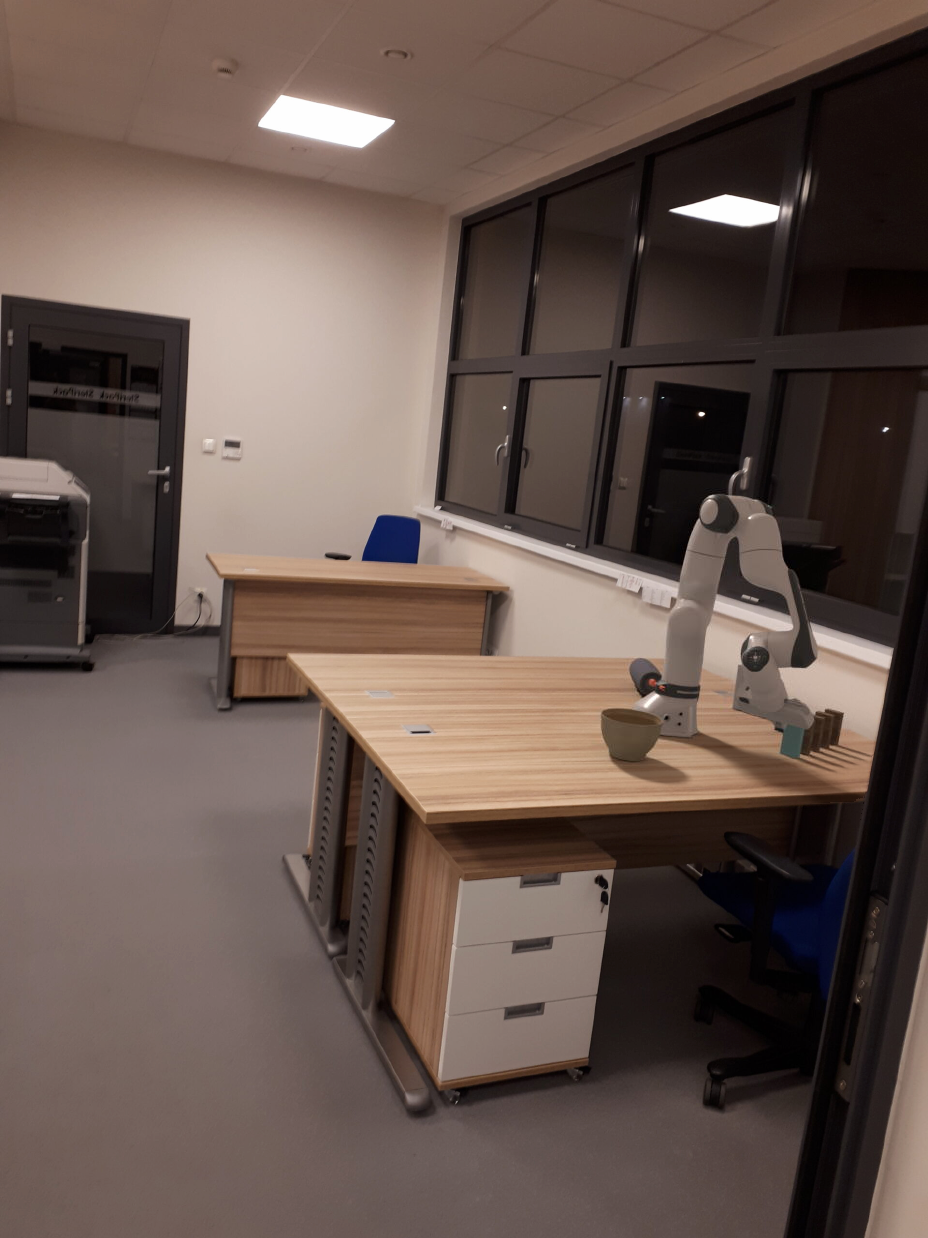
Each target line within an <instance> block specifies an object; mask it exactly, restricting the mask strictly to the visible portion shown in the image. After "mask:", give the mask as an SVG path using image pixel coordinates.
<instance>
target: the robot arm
mask: <svg viewBox="0 0 928 1238" xmlns="http://www.w3.org/2000/svg"><path fill="white" fill-rule="evenodd" d="M781 537H782V536H781V533H780V529H779V526H778V521H777V520H776V518H775V517H774V514H773V510H772V508H771V507H770V506H769V505H768V504H767V503H765V502H764V501H762V500H759V499H753V498H750V497H747V496H742V495H731V494H730V495H727V494H724V493H717V494H712V495H708V496H707V497H705V498H704V500H703V501H702V502H701V504H700V507H699V512H698V519H697V520H696V523H695V524H694V526H693V530H692V531H691V534H690V536H689V540H688V543H687V547H686V551H685V555H684V559H683V564H682V567H681V570H680V576H679V585H678V589H677V590H678V591H677V595H676V601H675V605H674V606H673V607H672V608H671V610H670V611H669V614H668V616H667V617H668V618H667V625H666V627H667V628H666V635H665V636H666V637H665V650H664V651H665V652H664V659H663V660H664V661H663V667H662V673H661V675H662V678H661V679H660V680H659V681H658V682H657V681H655V680H654V679H650V682H649V685H651V686H652V687H655V689H654V690H655V691H653V692H652V693H650V694H649V695H645V696H643V697H642V698H640V699H638V701H636V702H634V704H633V706H632V708H631V709H633V710H639V711H644V712H648V713H651V714H654V715H656V716H658V717H660V718H661V719H662V720H663V725H662V727H661V732H660V735H659V736H668V737H669V736H670V737H680V738H692V737H693V735H695V734H697V733H698V732H699V731H698V722H697V718H698V717H697V714H698V713H697V710H698V709H697V708H698V701H699V699H700V692H701V684H700V682H701V677H702V676H701V675H702V669H703V663H704V652H705V643H706V634H707V629H708V627H709V625H710V623H711V620H712V617H713V613H714V608H715V602H716V600H717V599H716V598H717V593H718V589H719V584H720V579H721V576H722V571H723V568H724V567H723V566H724V563H725V558H726V555H727V550H728V546H729V543H730V542H731V540H732V539H733V538H737V540H738V547H739V550H738V552H739V553H738V555H739V556H738V557H739V567H740V571H741V574H742V577H743V578H744V579H745V581H747V582H749V584H752V585H754V586H756V587H758V588H762V589H766V590H769V591H773V592H775V593H778V594H781V595H782V596H783V597H784V598H785V600H786V603H787V607H788V610H789V611H788V612H789V614H790V619H791V623H792V628H791V629H790V630H781V631H780V630H779V631H763V632H753V633H750V634H749V635H748V636H747V637H746V638H745V640H744V641H743V642H742V644H741V648H740V662H741V663H742V670H743V675H744V678H745V681H744V682H743V684H742V685H741V686H740V688H739V690H738V692H737V694H736V699H737V704H738V706H739V708H740V710H739V711H742V712H743V713H746V714H751V715H754V716H758V717H760V718H764V719H767V720H768V721H769V722H770V723H772V725H773V727H774V728H775V727H777V728H781V729H784V730H785V728H786V727H787V724H788V725H792V726H796V727H799V728H803V729H809V728H810V727H811V725H812V724H813V721H814V717H813V715H814V714H813V713H812V711H811V709H810V708H809V706H808V705H807V704H806V703H804V702H802V701H801V702H799V701H795V700H791V699H788V697H789V695H788V692H787V689H786V686H785V683H784V680H783V679H782V677H781V675H782V674H781V672H780V669H785V668H786V669H787V668H792V669H807V668H809V667H810V666H811V665H813V663H814V662H815V661H816V660H817V659H818V653H819V650H818V648H819V647H818V644H817V643H818V642H817V640H816V638H815V636H814V633H813V629H812V625H811V622H810V619H809V613H808V610H807V606H806V602H805V598H804V594H803V590H802V588H801V584H800V580H799V578H798V576H797V573H796V572H795V570H793V569H790V568H788V566H787V565H786V562H785V561H784V556H783V547H782V546H783V545H782V539H781ZM812 714H813V715H812Z"/></svg>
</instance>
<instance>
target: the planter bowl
mask: <svg viewBox="0 0 928 1238" xmlns="http://www.w3.org/2000/svg"><path fill="white" fill-rule="evenodd" d="M600 718H601V719H600V728H601V729H600V730H601V735H602V739H603V740H604V743H605V745H606V747H607V748H608V754H609V755H610V756H611V757H612V758H615V759H618V760H623V761H628V762H639V761H643V760H645V759H646V757H647V754H648V753H650V751H651V750H652V749H653V748H654V746H655V745H656V743H657V741H659V740H658V739H659V738H660V736H661V735H660V732H661V727H662V725H663V720H662V719H661V718H660V717H658V716H656V715H654V714H651V713H648V712H644V711H639V710H633V709H632V708H624V707H623V708H621V707H617V708H616V707H614V708H612V707H611V708H606V709H602V710H601V712H600Z"/></svg>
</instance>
